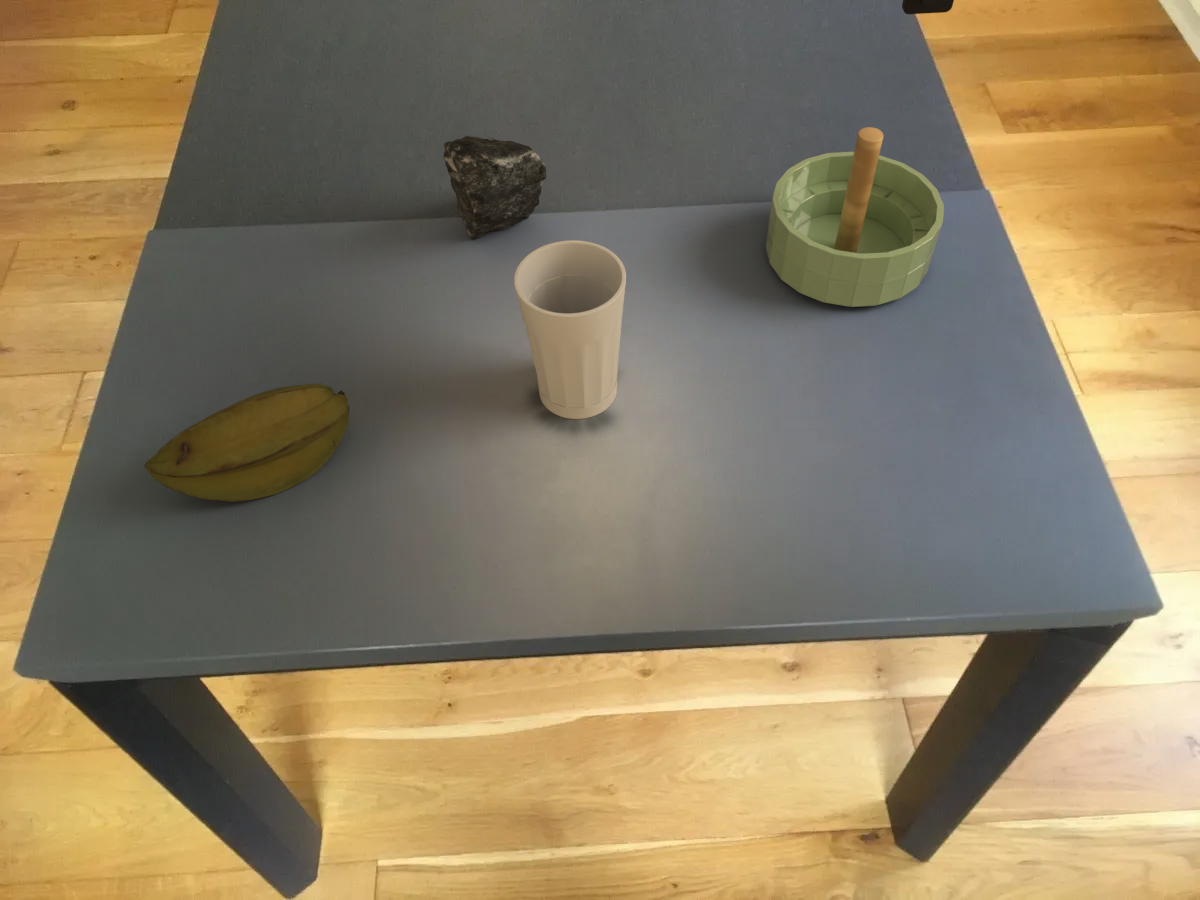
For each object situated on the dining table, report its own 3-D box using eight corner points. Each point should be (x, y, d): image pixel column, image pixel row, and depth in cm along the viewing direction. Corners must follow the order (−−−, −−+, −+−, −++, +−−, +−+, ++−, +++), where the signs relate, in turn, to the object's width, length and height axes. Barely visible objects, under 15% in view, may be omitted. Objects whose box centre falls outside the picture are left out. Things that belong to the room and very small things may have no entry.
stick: (854, 242, 88) (880, 126, 78) (858, 257, 86) (886, 140, 77) (831, 244, 88) (855, 127, 78) (836, 258, 86) (861, 142, 77)
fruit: (306, 540, 70) (280, 487, 65) (161, 506, 73) (124, 452, 67) (371, 422, 77) (351, 365, 72) (236, 394, 79) (207, 337, 74)
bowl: (931, 218, 90) (948, 163, 85) (921, 324, 82) (938, 269, 77) (779, 196, 93) (786, 142, 88) (753, 296, 84) (760, 242, 80)
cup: (645, 376, 79) (647, 263, 70) (592, 442, 75) (586, 331, 66) (564, 340, 82) (555, 227, 72) (509, 401, 78) (491, 290, 68)
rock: (489, 262, 88) (475, 170, 80) (441, 225, 92) (423, 133, 84) (554, 223, 91) (547, 130, 83) (506, 189, 95) (494, 96, 87)
